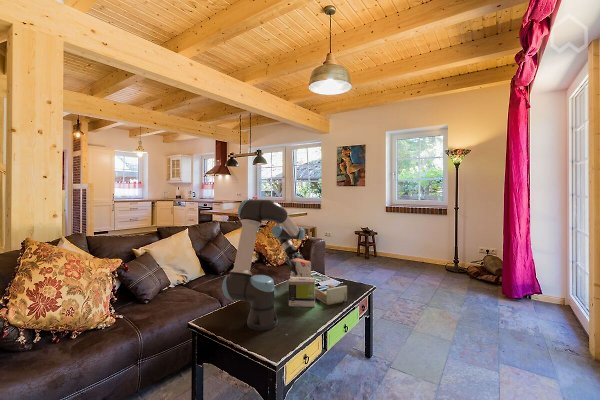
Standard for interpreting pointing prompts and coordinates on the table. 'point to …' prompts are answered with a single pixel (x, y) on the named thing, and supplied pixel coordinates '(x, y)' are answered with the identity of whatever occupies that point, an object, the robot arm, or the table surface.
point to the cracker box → (302, 267)
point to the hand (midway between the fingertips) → (304, 277)
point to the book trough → (332, 294)
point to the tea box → (302, 291)
